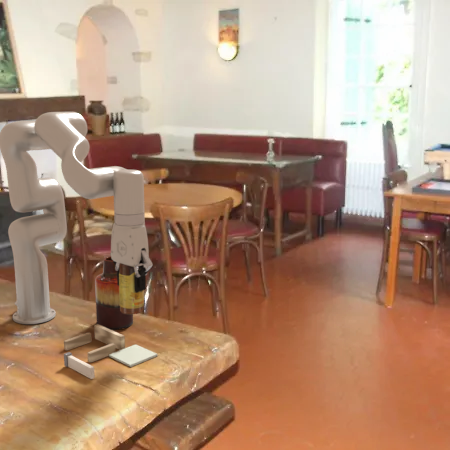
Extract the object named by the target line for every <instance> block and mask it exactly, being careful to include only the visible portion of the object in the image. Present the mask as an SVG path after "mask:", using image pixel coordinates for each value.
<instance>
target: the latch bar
mask: <svg viewBox="0 0 450 450" xmlns="http://www.w3.org/2000/svg"><path fill="white" fill-rule="evenodd" d="M63 363H64V367H66V368H70V369H72V370H73V371H75V372H77V373H79V374H81V375H83V376H85V377H87V378H88V379H90V380H92V379H95V378H96V376H95V366H93V365H91V364H89V363H87V362H85V361H84V360H82V359H79V358H78V357H75V356H74V355H73V353H72V352H70V351H68V352H65V353H63Z"/></svg>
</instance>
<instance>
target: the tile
mask: <svg viewBox="0 0 450 450" xmlns="http://www.w3.org/2000/svg"><path fill="white" fill-rule="evenodd" d="M108 357H109V358H112V359H113V360H115V361H117V362H119V363H121V364H124V365H125V366H127V367H130V368H132V367H134V366H137V365H139V364H141V363H144V362H147V361H149V360H151V359H154V358H156V357H158V353H156V352H155V351H152V350H150V349H147V348H145V347H143V346H140V345H138V344H132V345H131V346H128V347H125V349H122V350H117V351H115V352H114V353H112V354H109V356H108Z"/></svg>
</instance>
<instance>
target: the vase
mask: <svg viewBox="0 0 450 450" xmlns="http://www.w3.org/2000/svg"><path fill="white" fill-rule="evenodd" d="M102 265H103V266H102V267H103V268H102V273H100V274H98V275H96V277H95V278H94V280H95V281H94V284H95V285H94V286H95V311H96V312H95V313H96V325H97V324H99V325H101V326H103V327H106V328H108V329H110V330H113V331H118V330H123V329H124V330H125V329H127V328H129V327H131V326H132V325H133V323H134V314H133V315H129V314H123V313H121V311H120V304H119V286H118V285H117V270H116V269H115V267H116V266H115V264H114V262H113V260H112V258H111V255H110V256H107V257H106V256H105V258H103V264H102Z"/></svg>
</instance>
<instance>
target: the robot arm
mask: <svg viewBox="0 0 450 450" xmlns="http://www.w3.org/2000/svg"><path fill="white" fill-rule="evenodd" d="M87 134H88V123H87V121H86V119H85V118H84V117H83V116H82V115H81V114H80V113H78V112H76V111H51V112H50V111H49V112H48V111H47V112H45V113H42V114H40V115H39V116H38V117H37V118H36V119H35V120H20V121H19V120H18V121H13V122H9V123H7V124H5V125H4V126H3V127H2V128H1V130H0V153H1V155H2V159H3V161H4V164H5V170H6V179H7V187H8V194H9V202H10V204H11V205H10V206H11V209H13V211H15V212H16V213H31V212H36V211H42V212H43V213H42V214H33V215H30V216H29V215H28V216H23V217H19V218H17V219H15V220H14V221H12V222H11V223H10V224H9V227H8V231H7V233H8V238H9V242H10V246H11V250H12V255H13V267H14V277H15V278H14V279H15V292H16V301H15V302H14V305H15V306H16V308H17V311H15V312H14V313H13V314H12V320H13V321H14V322H15V323H17V324H20V325H21V324H22V325H37V324H43V323H46V322H49V321H51V320H52V319H54V318H55V317H56V315H57V313H56V310H55V309H54V308H52V307H51V305H50V304H51V303H50V301H51V300H50V287H49V270H48V261H47V257H46V256H45V254H44V253H43V252H42V251H41V249H40V247H44V246H48V245H52V244H55V243H59V242H62V241H63V240H64V239H65V238H66V236H67V232H68V228H67V214H66V207H65V206H66V204H65V196H64V190H63V188H62V186H61V185H60V183H59V182H58V181H57V179H55V178H53V177H40V178H39V176H38V169H37V168H38V167H37V164H36V162H35V160H34V158H33V157H32V156H31V154H29V152H28V151H42V150H51V151H52V152H53V153H55V154H56V155H57V157H59V158H60V159H61V163H60V164H61V165H60V166H61V172H62V176H63V178H64V181H65V182H66V184H67V185H68V186H69V187H70V188H71V189H72V190H73V191H74V192H76V194H77V195H78V196H80V197H82V198H84V199H87V200H97V199H102V198H107V197H112V196H113V213H114V214H113V216H114V217H113V218H114V223H113V225H112V227H111V228H112V230H111V238H110V253H109V255H110V256H111V258H112V260H113V262H114V264H115V266H116V267H115V269H116V270H117V285H118V286H119V263H121V264H124V265H127V266H131V267H134V270H135V274H136V276H135V277H134V284H135V292H139V291H142V290H144V291H145V290H146V288H147V287H146V286H147V284H146V279H147V278H146V276H147V275H148V272H149V271H150V270H151V268H152V267H153V262H152V260H151V258H150V256H149V252H150V250H149V239H148V233H147V228H146V222H145V219H146V217H145V216H146V215H145V212H146V211H145V178H144V177H145V176H144V173H143V172H142V171H141V170H137V169H127V168H124V167H122V166H117V165H114V166H113V165H112V166H104V167H94V168H87V167H86V166H84V165H83V163H82V162H83V161H84V160H85V159H86V157H87V156H88V154H89V152H90V142H89V140H88V139H87V137H86V136H87ZM139 262H140V264H139ZM139 266H141V270H140V271H139Z"/></svg>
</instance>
